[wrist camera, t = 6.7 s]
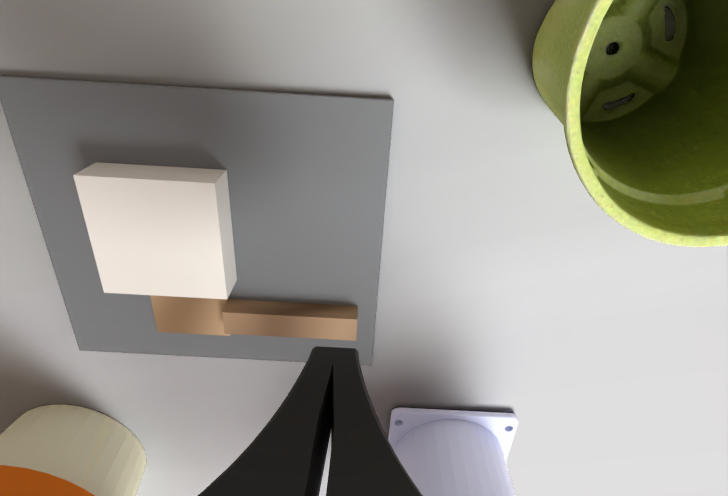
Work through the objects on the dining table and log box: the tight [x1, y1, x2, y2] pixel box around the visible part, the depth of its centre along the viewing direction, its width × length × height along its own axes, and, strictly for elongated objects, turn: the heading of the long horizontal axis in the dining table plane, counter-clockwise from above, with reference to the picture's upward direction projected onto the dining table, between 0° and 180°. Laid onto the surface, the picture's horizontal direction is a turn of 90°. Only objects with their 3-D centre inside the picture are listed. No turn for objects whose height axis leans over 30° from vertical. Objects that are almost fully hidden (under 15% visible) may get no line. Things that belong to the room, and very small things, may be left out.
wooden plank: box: [150, 295, 358, 341], centre depth 24 cm, size 11×3×1 cm, turn 87°
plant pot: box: [532, 0, 728, 247], centre depth 15 cm, size 9×9×9 cm
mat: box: [0, 76, 394, 365], centre depth 23 cm, size 15×17×1 cm
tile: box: [73, 162, 237, 299], centre depth 21 cm, size 6×2×6 cm
